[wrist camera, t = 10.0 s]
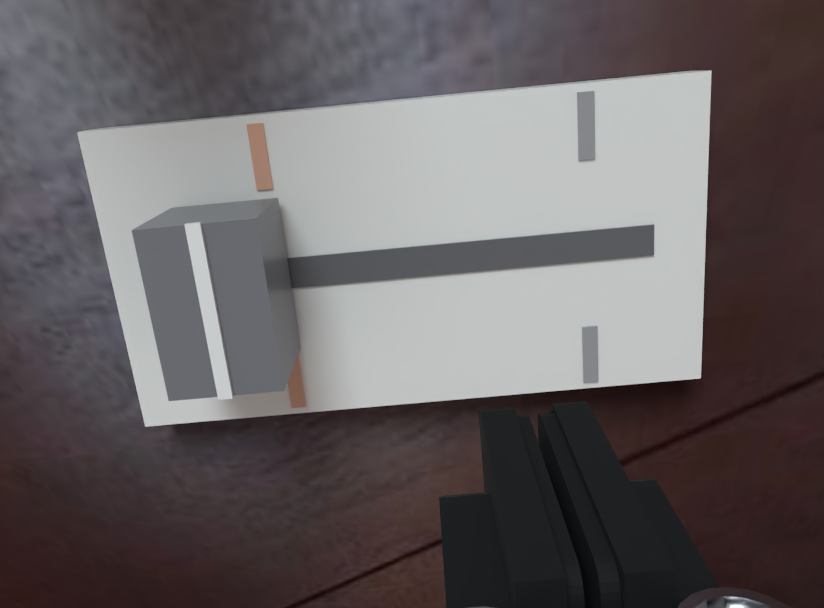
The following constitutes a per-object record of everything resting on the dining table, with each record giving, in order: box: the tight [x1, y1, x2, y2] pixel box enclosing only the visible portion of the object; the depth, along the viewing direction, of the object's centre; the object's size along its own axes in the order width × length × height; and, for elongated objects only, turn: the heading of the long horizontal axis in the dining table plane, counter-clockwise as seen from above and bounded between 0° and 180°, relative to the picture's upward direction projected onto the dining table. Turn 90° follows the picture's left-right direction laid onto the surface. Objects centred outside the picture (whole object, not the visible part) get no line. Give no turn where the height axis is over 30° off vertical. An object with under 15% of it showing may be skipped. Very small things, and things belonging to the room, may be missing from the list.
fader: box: [132, 198, 301, 401], centre depth 25 cm, size 4×6×4 cm, turn 5°
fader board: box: [77, 71, 711, 427], centre depth 29 cm, size 23×12×2 cm, turn 95°
